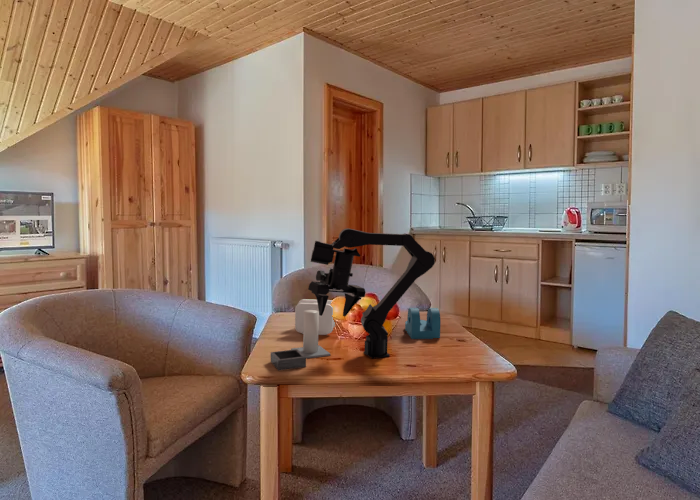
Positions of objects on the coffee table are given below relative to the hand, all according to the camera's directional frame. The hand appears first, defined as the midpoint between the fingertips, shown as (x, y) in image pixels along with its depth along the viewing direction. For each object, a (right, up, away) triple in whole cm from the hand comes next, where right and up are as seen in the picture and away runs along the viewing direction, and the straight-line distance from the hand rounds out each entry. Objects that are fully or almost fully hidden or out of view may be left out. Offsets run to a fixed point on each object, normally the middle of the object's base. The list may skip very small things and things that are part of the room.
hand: (332, 315), depth 148 cm
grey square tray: (-13, -13, -8) cm, 20 cm away
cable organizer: (-8, -11, +31) cm, 33 cm away
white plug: (-7, -12, +3) cm, 14 cm away
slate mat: (-7, -13, +3) cm, 15 cm away
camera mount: (+33, -11, +31) cm, 47 cm away
